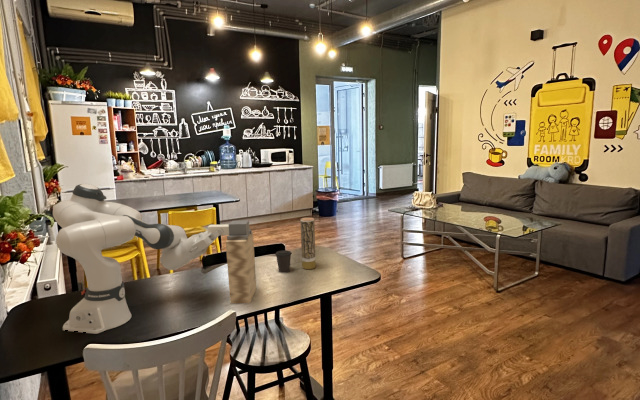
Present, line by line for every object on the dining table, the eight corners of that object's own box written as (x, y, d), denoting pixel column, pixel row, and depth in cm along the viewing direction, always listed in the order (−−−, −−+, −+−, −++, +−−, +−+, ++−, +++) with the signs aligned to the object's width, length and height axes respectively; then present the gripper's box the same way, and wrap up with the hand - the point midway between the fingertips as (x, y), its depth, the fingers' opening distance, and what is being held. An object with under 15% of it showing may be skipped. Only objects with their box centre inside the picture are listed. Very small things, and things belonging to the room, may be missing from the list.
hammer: (207, 239, 155) (206, 224, 154) (211, 235, 161) (210, 221, 159) (246, 238, 154) (245, 224, 153) (249, 234, 160) (248, 220, 159)
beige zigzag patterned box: (230, 303, 156) (225, 238, 150) (238, 289, 169) (234, 228, 164) (250, 303, 155) (245, 237, 150) (256, 288, 169) (252, 228, 164)
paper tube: (314, 270, 189) (312, 220, 184) (300, 269, 190) (298, 220, 186) (316, 265, 196) (315, 217, 191) (304, 264, 197) (302, 217, 192)
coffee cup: (272, 271, 189) (271, 251, 187) (284, 266, 195) (284, 247, 193) (283, 275, 184) (282, 255, 182) (295, 270, 190) (295, 250, 188)
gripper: (182, 247, 148) (212, 229, 146) (200, 232, 168) (226, 216, 166) (192, 260, 149) (221, 242, 147) (208, 244, 169) (234, 228, 167)
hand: (224, 228), depth 157 cm, fingers closed on hammer, 4 cm apart
